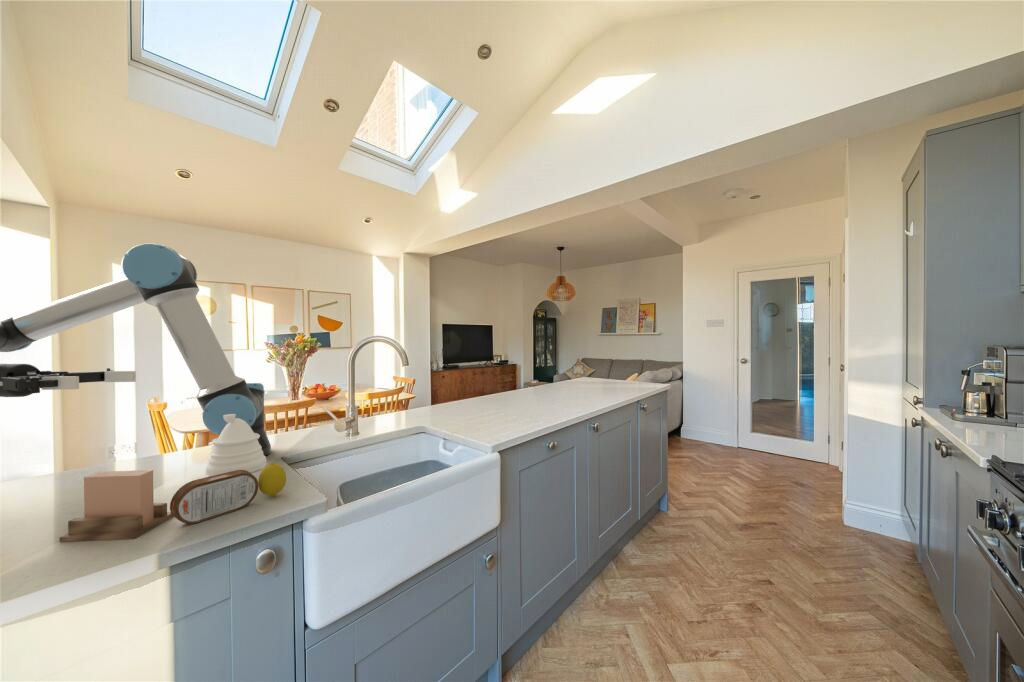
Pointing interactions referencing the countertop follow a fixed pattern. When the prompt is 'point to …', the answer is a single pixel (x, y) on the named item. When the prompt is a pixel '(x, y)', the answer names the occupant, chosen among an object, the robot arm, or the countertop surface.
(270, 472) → the lemon
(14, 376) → the robot arm
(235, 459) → the honey pot
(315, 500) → the countertop surface
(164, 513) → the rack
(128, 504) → the tan square block
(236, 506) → the tin
